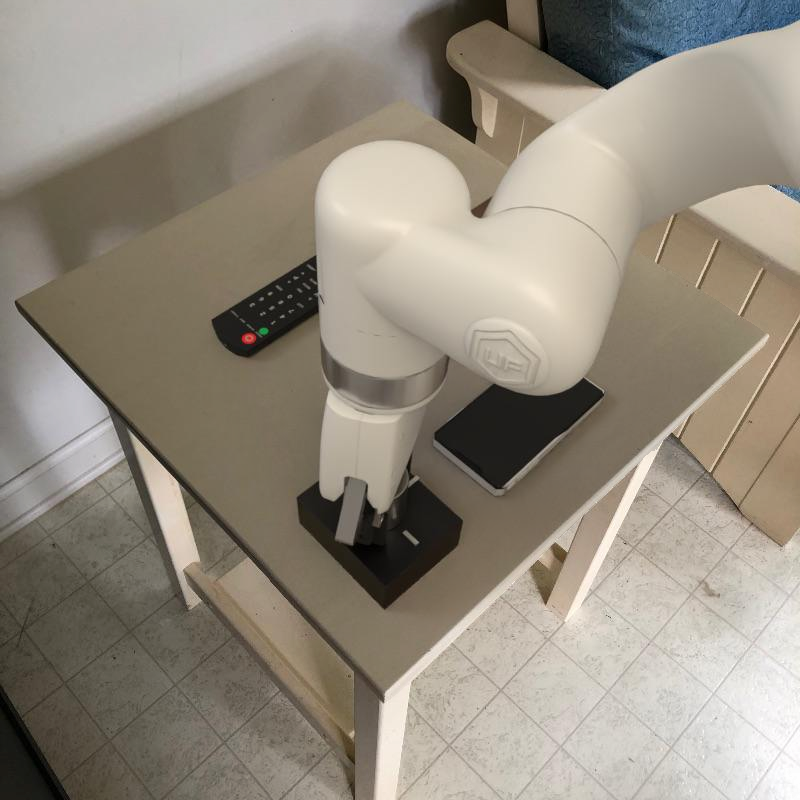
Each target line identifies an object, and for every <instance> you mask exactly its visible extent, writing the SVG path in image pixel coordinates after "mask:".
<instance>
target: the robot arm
mask: <svg viewBox="0 0 800 800" xmlns="http://www.w3.org/2000/svg"><path fill="white" fill-rule="evenodd" d="M771 185H772V186H781V187H789V188H792V189H795V190H798V191H800V19H798V20H797V21H795V22H792V23H789V24H788V25H785V26H783V27H781V28H775V29H771V30H770V29H769V30H764V31H756V32H752V33H748V34H746V33H745V34H743V35H739V36H736V37H733V38H729V39H725V40H722V41H718V42H715V43H711V44H708V45H702V46H698V47H695V48H692V49H688V50H684V51H682V52H679V53H676V54H672V55H670V56H667V57H666V58H663V59H661V60H659V61H656V62H654V63H652V64H650V65H648V66H646V67H645V68H641V69H640V70H638V71H636V72H634V73H633V74H631V75H630V76H628V77H627V78H625V79H623V80H622V81H620V82H618V83H616V84H615V85H613V86H611V87H610V88H608V89H607V90H605V91H604V92H602V93H601V94H599V95H598V96H596V97H595V98H593V99H591V100H590V101H588V102H587V103H585V104H583V105H582V106H580V107H578V109H575V110H574V111H573V112H570V113H569V114H568V115H566V116H565V117H563V118H561V119H560V120H559V121H557V122H556V123H554V124H553V125H551V126H549V127H548V128H547V129H545V130H544V131H543V132H541V134H539V135H538V136H537V137H536V138H534V139H533V140H532V141H531V142H530V143H529V144H527V146H526V147H525V148H524V149H523V150H522V151H521V152H520V153H519V155H518V156H517V157H516V158H515V159H514V161H513V162H512V163H511V164H510V166H509V167H508V168H507V171H506V172H505V174H504V176H503V177H502V179H501V181H500V182H499V184H498V186H497V187H496V189H495V191H494V193H493V194H492V196H493V197H492V196H491V197H492V199H491V201H490V203H489V204H488V206H487V208H486V210H485V212H484V214H483V216H482V218H477V217H475V216H474V215H473V214H472V213H471V210H472V199H471V193H470V190H469V187H468V184H467V181H466V178H465V177H464V176H463V174H462V172H461V171H460V170H459V168H458V167H457V166H456V165H455V164H454V163H453V162H452V161H451V160H450V159H449V158H448V157H447V156H445V155H443V154H442V153H440V152H438V151H437V150H434V149H433V148H430V147H429V146H425V145H423V144H419V143H416V142H413V141H405V140H399V139H397V140H395V139H385V140H384V139H383V140H375V141H370V142H366V143H363V144H359V145H356V146H354V147H351V148H349V149H347V150H345V151H344V152H342V153H341V154H339V155H338V156H337V157H336V158H334V159H333V160H332V161H331V162H330V163H329V164H328V166H327V167H326V168H325V170H324V171H323V173H322V174H321V177H320V179H319V182H318V183H317V185H316V190H315V195H314V229H315V230H314V233H315V253H316V254H315V255H316V256H317V279H318V300H319V310H318V317H319V320H318V321H319V341H320V368H321V373H322V377H323V380H324V382H325V384H326V386H327V388H328V391H327V396H326V401H325V406H324V410H323V411H324V412H323V418H322V424H321V433H320V449H319V470H318V471H319V474H318V475H319V477H318V479H319V480H318V481H319V488H320V492H321V495H322V496H323V498H326V499H328V500H331V501H335V500H337V499H338V498H339V497H340V496H341V494H342V493H343V492H344V498H343V505H342V510H341V514H340V518H339V523H338V527H337V532H336V536H335V541H338V542H342V543H345V544H348V545H351V546H353V545H354V544H355V543H356V542H358V543H361V544H365V545H370V544H371V543H374V544H377V545H381V546H383V545H385V542H386V540H387V531H388V518H389V514H388V513H387V512H385V511H387V510H388V509H389V507H390V505H391V503H392V501H393V498H394V496H395V493H396V491H397V488H398V486H399V483H400V481H401V478H402V476H403V473H404V471H405V468H406V469H407V471H408V475H409V477H410V473H411V470H412V469H411V468H412V459H413V451H414V447H415V444H416V442H417V439H418V435H419V433H420V429H421V428H422V427H421V426H422V424H423V420H424V417H425V414H426V410H427V407H428V403H430V402H431V401H432V400H434V398H435V397H437V396H438V394H439V393H440V392H441V391H442V388H443V387H444V385H445V383H446V380H447V377H448V370H449V363H450V359H452V360H454V361H455V362H457V363H458V364H460V365H462V366H463V367H465V368H466V369H468V370H469V371H471V372H473V373H475V374H477V375H478V376H480V378H484V379H485V380H487V381H489V382H491V383H492V384H494V383H495V384H497V385H499V386H502V387H504V388H507V389H509V390H512V391H515V392H518V393H523V394H528V395H535V396H544V395H552V394H557V393H560V392H563V391H565V390H567V389H569V388H571V387H573V386H574V385H575V384H577V383H578V382H579V381H580V380H581V379H582V378H583V377H586V375H587V374H588V372H589V371H590V369H591V368H592V366H593V364H594V362H595V360H596V358H597V356H598V353H599V351H600V349H601V346H602V344H603V341H604V338H605V335H606V332H607V328H608V325H609V322H610V319H611V316H612V314H613V310H614V308H615V305H616V302H617V298H618V296H619V292H620V290H621V287H622V284H623V280H624V277H625V275H626V271H627V269H628V266H629V262H630V260H631V257H632V254H633V251H634V248H635V245H636V243H637V240H638V237H639V234H640V233H641V232H643V231H646V230H647V229H649V228H650V227H652V226H654V225H656V224H658V223H660V222H661V221H664V220H666V219H668V218H670V217H672V216H674V215H676V214H678V213H680V212H682V211H684V210H686V209H689V208H691V207H693V206H696V205H698V204H700V203H702V202H704V201H707V200H709V199H712V198H714V197H716V196H719V195H722V194H726V193H729V192H731V191H732V192H733V191H735V190H738V189H744V188H749V187H750V188H751V187H755V186H771ZM366 500H368V501H369V502H370V504H371V505H370V504H367V503H366Z"/></svg>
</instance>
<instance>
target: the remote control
mask: <svg viewBox="0 0 800 800" xmlns="http://www.w3.org/2000/svg"><path fill="white" fill-rule="evenodd" d="M318 311H319V300H318V279H317V256H316V254H315V255H313V256H311V257H310V258H309V259H307V260H305V261H304V262H302V263H300V264H299V265H297V266H296V267H294V268H292V269H291V270H289V271H287V272H286V273H284V274H283V275H281V276H280V277H278V278H276V279H274V280H273V281H271V282H270V283H268V284H266V285H265V286H263V287H261V288H260V289H258V290H257V291H255V292H253V293H252V294H250V295H249V296H247V297H245V298H244V299H242V300H241V301H239V302H237V303H236V304H234V305H232V306H231V307H229V308H227V309H225V310H224V311H223V312H221V313H219V314H217V316H215V317H213V318H211V320H210V321H211V325H212V327H213V330H214V333H215V335H216V337H217V339H218V341H219V342H220V343H221V344H222V346H224V348H225V349H226V350H228V351H229V352H231V353H233V355H235V356H242V357H249V356H251V355H252V354H254V353H256V352H257V351H259V350H260V349H262V348H263V347H264V346H266V345H268V344H269V343H270V342H272V341H273V340H276V339H277V338H278V337H279V336H281V335H283V334H284V333H285V332H287V331H289V330H290V329H291V328H293V327H295V326H296V325H298V324H299V323H301V322H302V321H304V320H306V319H307V318H308V317H310V316H311V315H313V314H314V313H316V312H318Z"/></svg>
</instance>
